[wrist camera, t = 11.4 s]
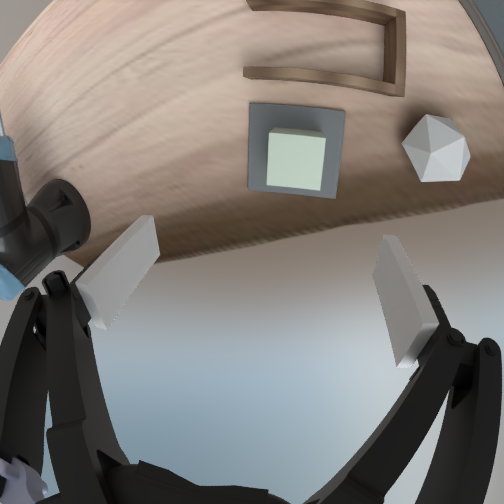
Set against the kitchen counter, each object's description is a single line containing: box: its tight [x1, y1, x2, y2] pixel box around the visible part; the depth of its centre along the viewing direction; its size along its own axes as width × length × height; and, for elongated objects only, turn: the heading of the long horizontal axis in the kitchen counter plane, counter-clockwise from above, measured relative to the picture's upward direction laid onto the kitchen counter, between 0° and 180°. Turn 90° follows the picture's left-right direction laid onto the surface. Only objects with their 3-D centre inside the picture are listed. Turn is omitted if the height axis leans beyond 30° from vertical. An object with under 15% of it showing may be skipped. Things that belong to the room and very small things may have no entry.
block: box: [267, 127, 326, 191], centre depth 31 cm, size 6×6×6 cm
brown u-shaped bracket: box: [243, 0, 406, 97], centre depth 23 cm, size 18×11×5 cm, turn 89°
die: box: [401, 114, 470, 182], centre depth 26 cm, size 8×9×10 cm
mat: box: [248, 103, 345, 199], centre depth 34 cm, size 12×12×1 cm
